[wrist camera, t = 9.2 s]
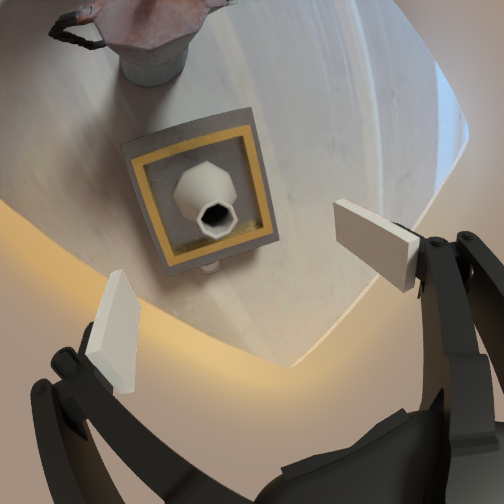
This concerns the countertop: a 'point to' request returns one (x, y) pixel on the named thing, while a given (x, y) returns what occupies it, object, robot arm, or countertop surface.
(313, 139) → the countertop surface
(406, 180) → the countertop surface
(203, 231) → the flask
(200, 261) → the plate
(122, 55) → the moka pot
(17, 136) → the countertop surface
